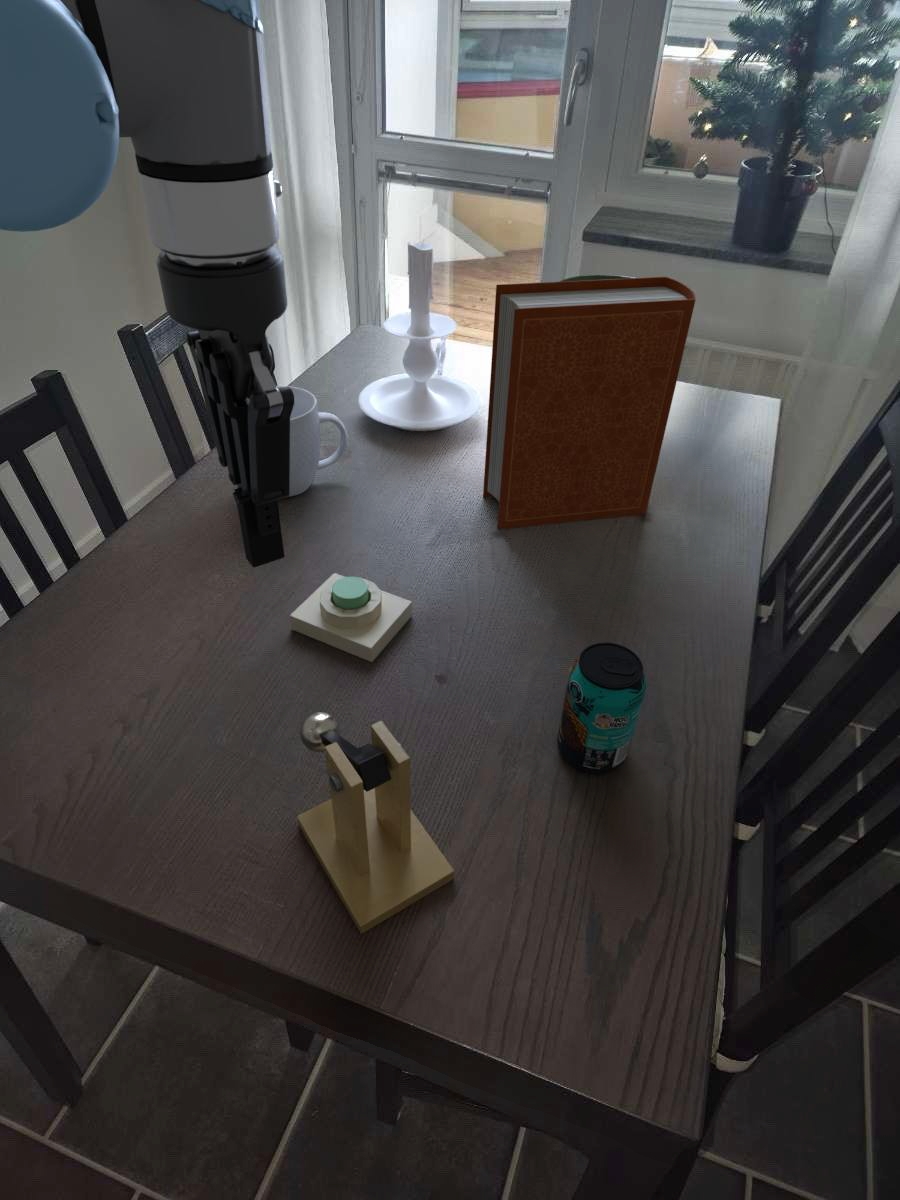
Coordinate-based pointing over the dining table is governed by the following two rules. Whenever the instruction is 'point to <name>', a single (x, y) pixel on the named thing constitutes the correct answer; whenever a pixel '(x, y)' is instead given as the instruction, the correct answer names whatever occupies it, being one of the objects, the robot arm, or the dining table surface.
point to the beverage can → (601, 707)
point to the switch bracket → (373, 837)
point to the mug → (309, 440)
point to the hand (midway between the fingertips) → (265, 557)
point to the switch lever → (345, 749)
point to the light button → (350, 593)
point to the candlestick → (420, 363)
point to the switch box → (352, 620)
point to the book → (581, 396)
